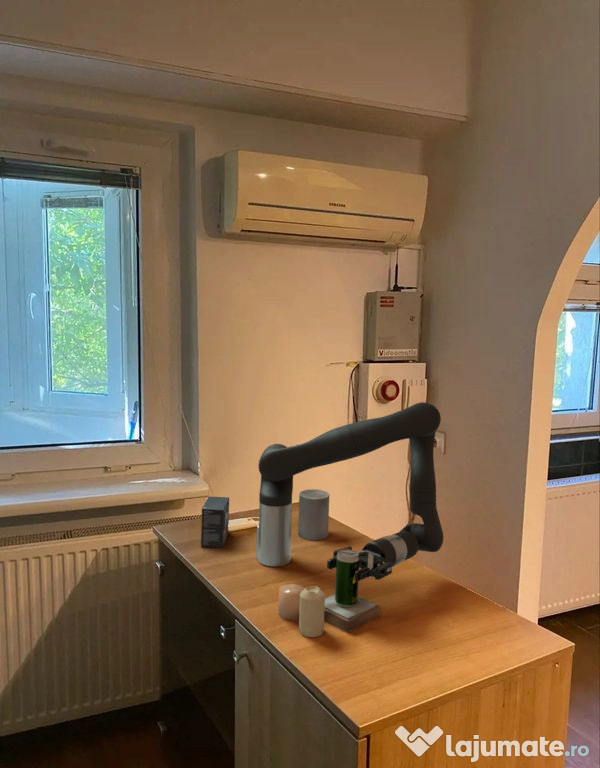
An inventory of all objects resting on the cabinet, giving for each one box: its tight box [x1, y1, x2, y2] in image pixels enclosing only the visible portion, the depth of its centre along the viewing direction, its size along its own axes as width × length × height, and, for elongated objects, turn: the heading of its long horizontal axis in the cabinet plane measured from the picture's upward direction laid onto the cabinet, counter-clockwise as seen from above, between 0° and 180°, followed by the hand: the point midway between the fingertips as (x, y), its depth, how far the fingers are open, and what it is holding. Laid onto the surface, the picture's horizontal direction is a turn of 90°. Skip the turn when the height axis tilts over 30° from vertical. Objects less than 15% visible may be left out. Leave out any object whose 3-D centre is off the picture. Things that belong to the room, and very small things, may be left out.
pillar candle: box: [297, 488, 331, 541], centre depth 195 cm, size 10×10×15 cm
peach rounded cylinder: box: [278, 583, 305, 621], centre depth 143 cm, size 6×6×6 cm
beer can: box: [334, 549, 360, 608], centre depth 143 cm, size 5×5×12 cm
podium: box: [324, 593, 380, 633], centre depth 143 cm, size 11×11×3 cm
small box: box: [200, 496, 230, 548], centre depth 189 cm, size 13×7×12 cm, turn 179°
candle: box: [298, 585, 326, 638], centre depth 135 cm, size 6×6×10 cm
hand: (341, 570), depth 141 cm, fingers open, 8 cm apart
